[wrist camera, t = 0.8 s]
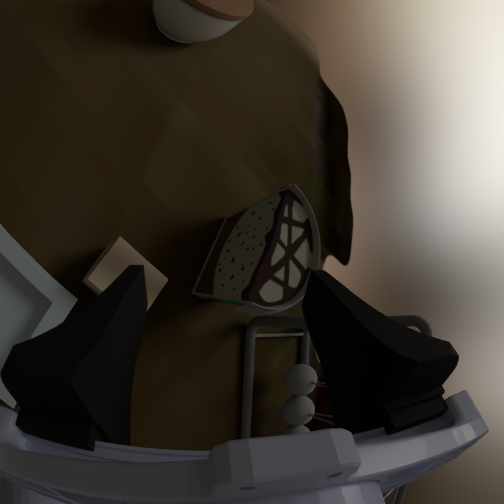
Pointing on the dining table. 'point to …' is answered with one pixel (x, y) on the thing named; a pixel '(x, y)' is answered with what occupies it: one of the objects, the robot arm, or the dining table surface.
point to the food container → (263, 255)
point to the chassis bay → (26, 301)
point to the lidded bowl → (199, 18)
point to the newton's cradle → (299, 377)
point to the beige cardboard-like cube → (115, 263)
